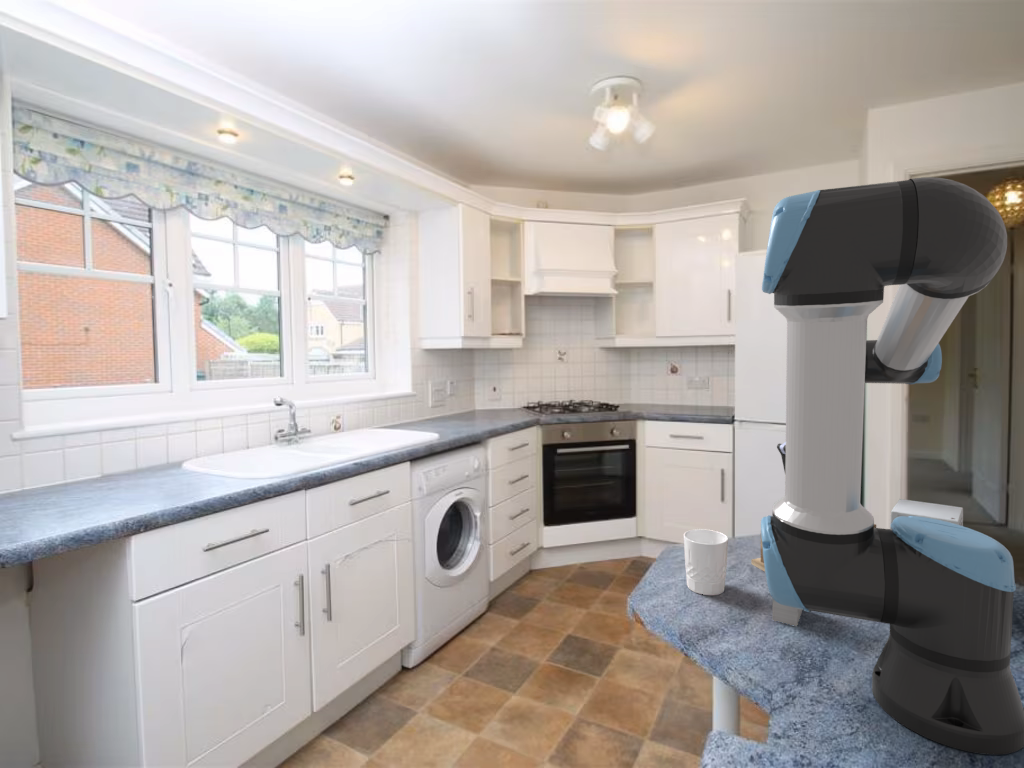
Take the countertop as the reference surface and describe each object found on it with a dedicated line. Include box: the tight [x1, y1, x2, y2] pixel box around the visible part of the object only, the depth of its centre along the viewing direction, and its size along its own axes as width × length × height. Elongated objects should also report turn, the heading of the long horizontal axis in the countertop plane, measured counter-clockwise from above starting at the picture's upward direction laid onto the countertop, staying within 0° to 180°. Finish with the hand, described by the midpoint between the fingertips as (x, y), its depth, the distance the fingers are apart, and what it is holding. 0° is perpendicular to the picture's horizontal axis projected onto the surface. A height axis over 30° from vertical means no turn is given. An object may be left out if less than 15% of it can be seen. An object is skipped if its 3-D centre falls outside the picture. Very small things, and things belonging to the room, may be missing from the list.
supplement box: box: [889, 498, 964, 529], centre depth 93 cm, size 10×9×17 cm
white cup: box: [683, 528, 729, 596], centre depth 102 cm, size 8×8×10 cm
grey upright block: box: [771, 597, 804, 627], centre depth 91 cm, size 4×7×10 cm, turn 145°
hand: (806, 523), depth 110 cm, fingers closed
